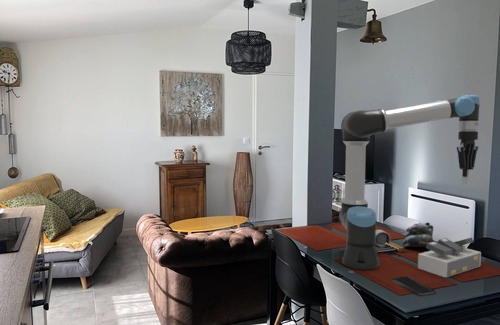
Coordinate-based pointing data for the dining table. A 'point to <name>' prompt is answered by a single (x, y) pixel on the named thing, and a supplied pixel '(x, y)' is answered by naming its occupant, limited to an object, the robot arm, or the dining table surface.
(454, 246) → the rocker
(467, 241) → the rocker
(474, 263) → the switch unit
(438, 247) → the block
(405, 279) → the phone
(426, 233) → the lucky cat figurine
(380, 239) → the ceramic mug
